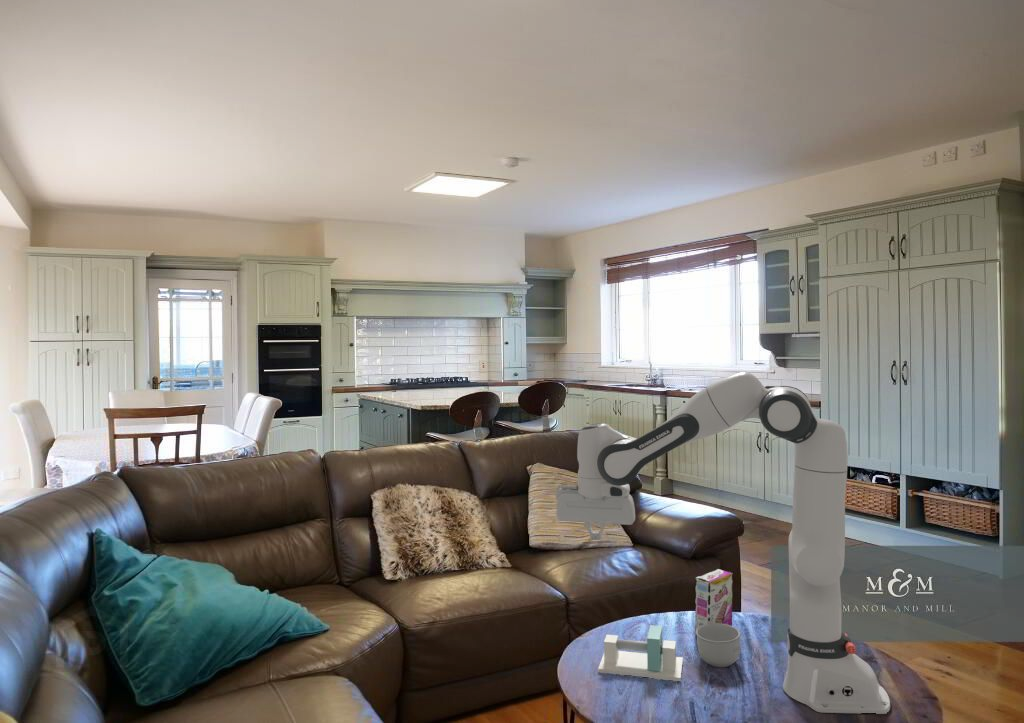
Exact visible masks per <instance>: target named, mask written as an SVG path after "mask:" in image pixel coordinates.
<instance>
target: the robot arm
mask: <svg viewBox="0 0 1024 723" xmlns="http://www.w3.org/2000/svg"><path fill="white" fill-rule="evenodd" d="M811 406H812V405H811V403H810V400H809V398H808V396H807V395H806V394H805V393H804V392H803V391H802V390H801V389H799V388H796V387H794V386H790V385H789V386H788V385H766V386H764V385H763V383H762V381H760V380H759V378H758V377H756V376H755V374H754V375H753V374H752V373H751V372H747V371H741V372H738V373H735V374H731V375H729V376H727V377H724V378H722V379H719V380H718V381H715V382H713V383H711V384H710V385H708V386H706V387H704V388H703V389H701V390H699V391H698V392H696V393H695V394H694V395H692V396H691V397H690V398H689V399H687V400H686V401H685V402H683V404H682V405H681V406H680V407H679V408H678V409H677V410H676V411H675V412H674V413H673V414H672V415H671V416H670V417H669V418H668V419H667V420H666V421H665V422H663V423H662V424H660V425H658V426H657V427H656V428H654V429H652V430H650V431H647V433H644V434H642V435H641V436H639V437H633V436H630V435H628V434H624V433H621V432H620V431H618V430H616V429H614V428H612V427H611V425H610V424H608V423H604V422H603V423H601V422H599V423H598V422H597V423H594V424H590V425H586V426H584V427H583V428H581V429H580V431H579V432H578V435H577V436H578V437H577V450H576V451H577V453H576V454H577V456H576V457H577V462H578V470H577V485H576V484H575V485H567V484H562V485H561V486H559V487H557V488H556V490H555V499H556V501H557V505H556V512H555V513H556V519H557V520H558V521H560V522H571V523H573V522H574V523H576V522H577V523H584V527H585V528H586V530H587V531H588V533H589V539H590V540H594V541H598V540H599V541H601V540H602V539H603V531H604V530H605V529H606V526H607V525H608V524H609V525H610V524H611V525H625V526H626V525H627V526H631V525H633V523H634V522H635V521H636V507H635V502H634V498H633V496H632V495H631V494H630V491H631V488H630V483H631V482H632V481H633V480H634V479H635V478H636V477H637V476H638V475H639V474H640V473H642V471H644V469H645V468H646V467H647V465H648V464H650V463H651V462H652V461H655V460H656V459H658V458H660V457H662V456H663V455H665V454H667V453H669V452H671V451H672V450H674V449H677V448H679V447H680V446H683V445H686V444H689V443H693V442H696V441H700V440H702V439H705V438H708V437H712V436H715V435H717V434H719V433H722V432H725V431H726V430H728V429H730V428H732V427H734V426H735V425H737V424H739V423H741V422H743V421H745V420H747V419H758V420H759V419H760V422H761V424H762V426H763V427H764V429H765V430H767V432H769V433H770V434H772V435H773V436H775V437H777V438H780V439H783V440H786V441H789V442H791V443H794V444H795V445H794V446H795V460H794V462H795V463H794V475H793V487H792V488H793V492H792V522H791V523H792V526H791V531H790V533H789V535H788V575H789V576H788V577H789V581H788V582H789V627H788V628H787V638H786V639H787V652H788V660H787V661H788V662H787V668H786V673H785V677H784V680H783V683H782V689H783V691H784V692H785V694H786V695H787V696H789V697H790V698H792V699H794V701H797V702H800V703H802V704H803V705H806V706H807V707H809V708H811V709H812V710H814V711H815V712H818V713H829V714H831V713H832V714H834V713H835V714H861V713H876V714H875V715H886V714H887V712H888V713H889V711H890V710H891V700H890V697H889V695H888V692H887V691H886V689H885V688H884V687H883V686H881V684H880V683H879V682H878V679H877V675H876V674H875V672H874V670H873V668H872V667H871V665H870V664H868V663H867V662H866V661H864V660H863V659H862V658H861V657H860V656H858V655H857V654H855V653H856V652H857V648H856V645H855V644H854V643H852V640H851V638H850V637H848V634H847V633H846V632H844V633H843V632H842V595H841V594H842V593H841V578H840V577H841V576H842V574H843V571H844V568H845V567H844V566H845V558H846V557H845V556H846V554H845V552H846V550H845V549H846V494H847V493H846V492H847V479H848V461H849V460H848V444H847V437H846V431H845V429H844V428H843V426H842V425H841V424H839V423H838V422H836V421H833V420H831V419H826V418H820V417H817V416H816V415H815V414H814V412H813V410H812V407H811ZM593 524H598V525H599V528H600V530H599V531H597V530H595V531H594V530H593V528H592V525H593Z"/></svg>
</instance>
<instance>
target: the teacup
mask: <svg viewBox="0 0 1024 723" xmlns="http://www.w3.org/2000/svg"><path fill="white" fill-rule="evenodd" d="M695 636H696V643H697V645H696V646H697V650H698V651H697V652H698V655H699V657H700V658H701V659H702V660H703V661H704V662H706V664H709V665H710V666H711V667H717V668H726V667H729V666H731V665H733V664H734V663H735V662H737V661H738V660H739V657H740V655H741V632H740V630H739V629H738V628H737V627H735V626H733V625H732V626H730V625H727V624H720V623H714V622H713V621H708V622H707V624H706V625H702V626H700V627H699V628H698V629H697V630H696V635H695Z"/></svg>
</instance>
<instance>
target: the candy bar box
mask: <svg viewBox="0 0 1024 723" xmlns="http://www.w3.org/2000/svg"><path fill="white" fill-rule="evenodd" d="M694 602H695V613H694V614H695V617H694V619H695V622H694V623H695V627H694V628H695V631H694V633H695V634H694V635H695V636H697V635H696V630H697V629H698V628H699V627H700V626H702V625H706V624H707V622H708V621H713V622H714V623H720V624H727V625H730V626H733V572H731V571H727V570H722V569H719V568H717V569H715V570H712V571H710V572H708V573H705V574H701V575H699V576H696V577H695V601H694Z"/></svg>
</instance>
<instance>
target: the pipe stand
mask: <svg viewBox="0 0 1024 723" xmlns="http://www.w3.org/2000/svg"><path fill="white" fill-rule="evenodd" d="M660 652H661V654H662V655H663V657H662V663H661V668H660V671H652V670H648V665H647V641H642V640H633V639H632V640H631V639H622V638H619V635H616V634H606V635H605V638H604V640H603V654H602V657H601V660H600V663H599V665H598V667H597V668H598V669H597V670H598V671H597V673H599V674H607V673H612V674H611V675H616V674H621V675H620V676H624V675H635V676H643V677H649V678H648V679H651V678H655V679H654V680H660V679H663V680H662V681H668V680H673V681H672V682H677V681H680V682H682V674H683V666H682V665H684V657H681V656H677V641H676V640H666V639H664V640H663V641H662V643H661V644H660ZM681 673H682V674H681ZM680 682H679V683H680Z"/></svg>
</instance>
